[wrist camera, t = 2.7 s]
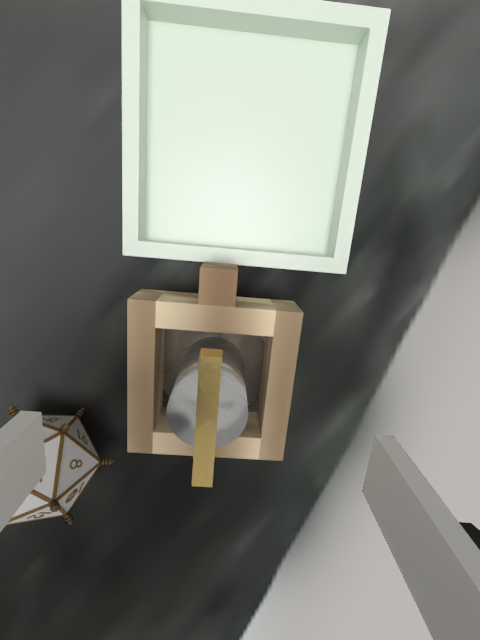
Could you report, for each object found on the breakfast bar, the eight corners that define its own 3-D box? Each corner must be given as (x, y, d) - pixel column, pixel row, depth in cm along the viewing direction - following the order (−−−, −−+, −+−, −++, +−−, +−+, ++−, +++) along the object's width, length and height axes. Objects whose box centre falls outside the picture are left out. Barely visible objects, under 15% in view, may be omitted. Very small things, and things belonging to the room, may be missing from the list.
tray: (133, 252, 25) (122, 255, 22) (134, 4, 21) (121, -26, 18) (334, 269, 25) (345, 274, 23) (372, 33, 21) (391, 9, 19)
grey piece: (166, 383, 27) (122, 489, 16) (169, 291, 25) (122, 341, 14) (258, 389, 28) (278, 497, 17) (269, 299, 26) (298, 354, 15)
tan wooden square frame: (140, 424, 23) (127, 452, 20) (141, 256, 20) (127, 260, 17) (276, 432, 24) (282, 460, 21) (297, 269, 21) (308, 276, 18)
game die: (67, 397, 32) (-38, 380, 22) (144, 421, 29) (62, 414, 20) (26, 499, 29) (-110, 527, 20) (107, 535, 27) (-6, 586, 18)
